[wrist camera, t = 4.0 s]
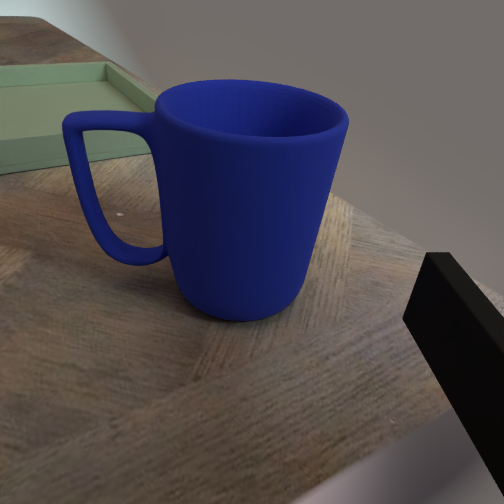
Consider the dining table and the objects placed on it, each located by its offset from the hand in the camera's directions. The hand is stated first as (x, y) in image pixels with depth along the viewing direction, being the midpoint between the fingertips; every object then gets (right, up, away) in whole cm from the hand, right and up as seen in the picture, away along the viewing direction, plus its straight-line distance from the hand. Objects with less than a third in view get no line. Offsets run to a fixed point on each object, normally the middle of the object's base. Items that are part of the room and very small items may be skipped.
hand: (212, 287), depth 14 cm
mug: (-1, -1, +11) cm, 11 cm away
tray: (-18, +14, +30) cm, 38 cm away
